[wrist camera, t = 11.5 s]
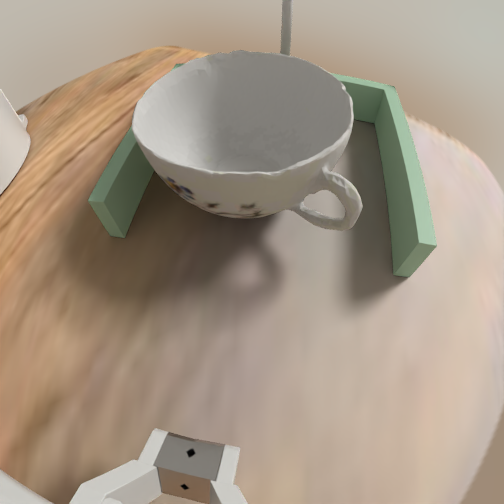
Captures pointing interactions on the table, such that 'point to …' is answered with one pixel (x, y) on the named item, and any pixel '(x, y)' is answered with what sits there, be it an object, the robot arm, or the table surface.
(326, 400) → the table surface
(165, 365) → the table surface
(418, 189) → the corral
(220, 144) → the teacup
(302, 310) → the table surface
